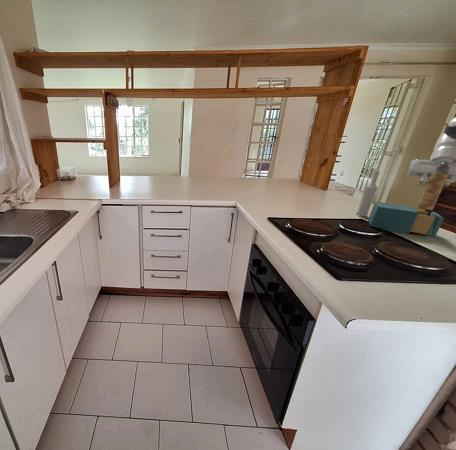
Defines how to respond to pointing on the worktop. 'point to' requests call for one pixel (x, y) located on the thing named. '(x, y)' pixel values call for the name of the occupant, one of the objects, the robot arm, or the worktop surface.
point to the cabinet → (392, 217)
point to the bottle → (368, 196)
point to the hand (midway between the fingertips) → (436, 184)
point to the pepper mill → (434, 187)
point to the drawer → (427, 223)
